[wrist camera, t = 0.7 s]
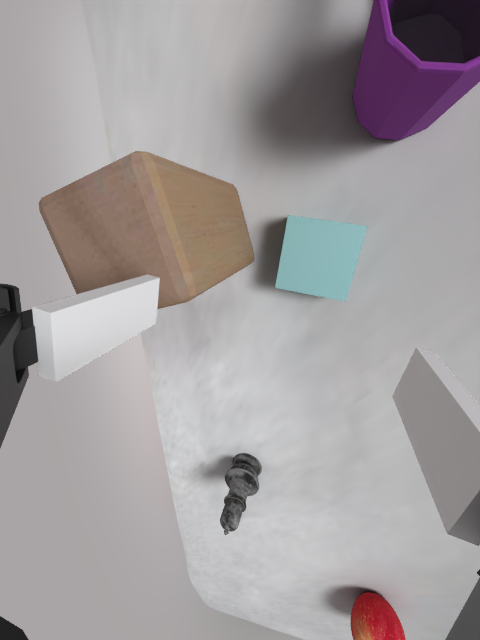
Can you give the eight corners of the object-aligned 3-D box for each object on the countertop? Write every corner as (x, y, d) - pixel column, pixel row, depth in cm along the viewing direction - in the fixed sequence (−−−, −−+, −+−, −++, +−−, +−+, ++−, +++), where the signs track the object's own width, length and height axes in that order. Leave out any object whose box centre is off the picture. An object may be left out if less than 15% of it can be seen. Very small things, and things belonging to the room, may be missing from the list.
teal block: (292, 215, 34) (287, 215, 29) (361, 225, 32) (367, 226, 28) (280, 279, 37) (275, 287, 32) (342, 291, 35) (345, 301, 31)
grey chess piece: (230, 472, 51) (205, 541, 40) (232, 448, 49) (205, 513, 38) (261, 482, 50) (244, 555, 39) (264, 457, 48) (247, 527, 37)
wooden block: (193, 279, 40) (85, 328, 22) (169, 208, 38) (26, 197, 20) (258, 261, 37) (193, 302, 19) (237, 182, 34) (138, 140, 16)
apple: (407, 598, 49) (426, 683, 40) (383, 619, 53) (396, 702, 44) (361, 575, 50) (369, 653, 41) (341, 597, 54) (345, 673, 45)
